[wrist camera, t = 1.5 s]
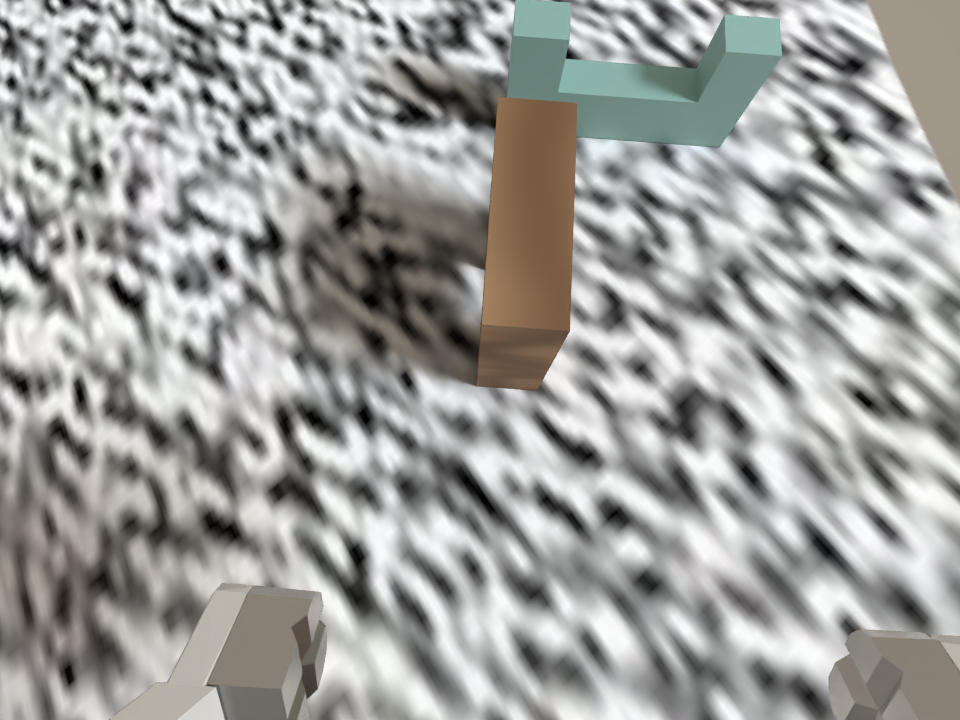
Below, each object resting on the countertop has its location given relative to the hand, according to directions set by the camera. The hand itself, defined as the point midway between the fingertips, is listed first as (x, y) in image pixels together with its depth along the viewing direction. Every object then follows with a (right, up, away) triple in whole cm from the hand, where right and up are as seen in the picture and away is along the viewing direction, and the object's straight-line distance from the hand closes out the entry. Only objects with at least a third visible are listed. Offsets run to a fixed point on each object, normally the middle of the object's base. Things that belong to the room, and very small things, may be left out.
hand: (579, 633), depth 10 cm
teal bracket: (+6, +17, +25) cm, 31 cm away
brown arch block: (0, +7, +22) cm, 23 cm away
